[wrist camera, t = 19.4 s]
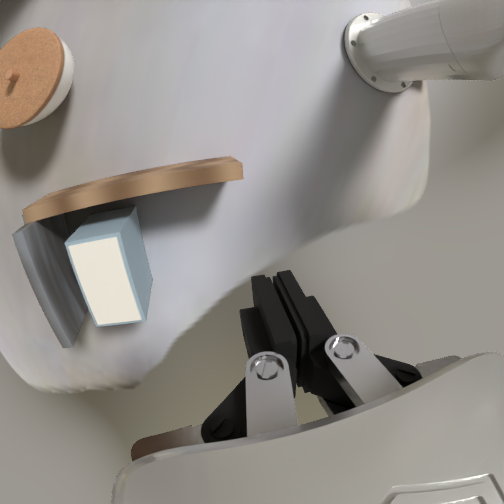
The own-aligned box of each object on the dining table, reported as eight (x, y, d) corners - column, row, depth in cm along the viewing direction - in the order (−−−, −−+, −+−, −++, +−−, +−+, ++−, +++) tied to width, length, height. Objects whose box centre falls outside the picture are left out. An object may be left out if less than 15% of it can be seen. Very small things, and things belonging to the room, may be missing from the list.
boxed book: (136, 205, 30) (119, 232, 22) (152, 279, 35) (146, 322, 27) (91, 214, 29) (63, 243, 21) (111, 285, 34) (96, 327, 26)
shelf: (230, 156, 31) (249, 167, 22) (242, 274, 37) (261, 321, 28) (21, 202, 26) (-21, 230, 17) (56, 303, 33) (33, 349, 24)
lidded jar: (76, 127, 25) (38, 129, 16) (10, 126, 21) (-34, 132, 13) (97, 42, 21) (69, 16, 12) (28, 48, 18) (-10, 33, 9)
